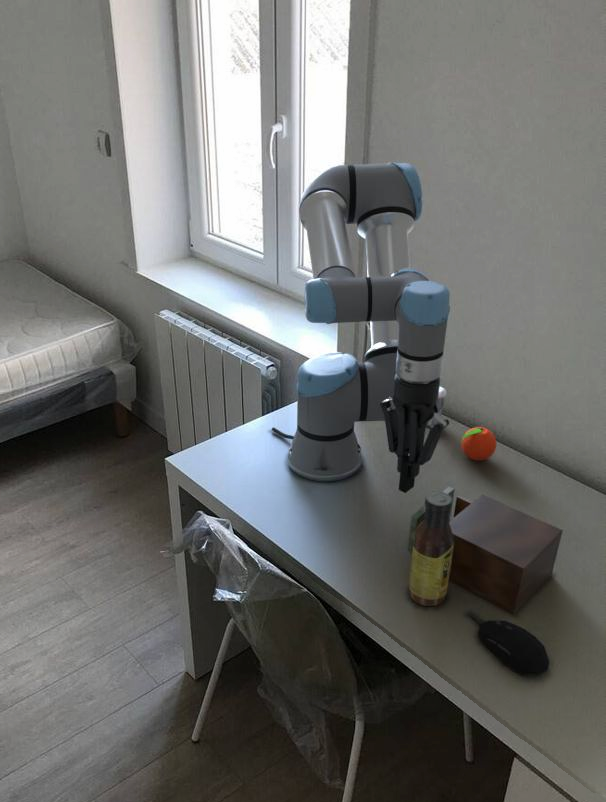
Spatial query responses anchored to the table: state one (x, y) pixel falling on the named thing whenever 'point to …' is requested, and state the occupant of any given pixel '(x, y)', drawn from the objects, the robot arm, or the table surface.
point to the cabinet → (502, 552)
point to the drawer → (419, 515)
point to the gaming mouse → (514, 646)
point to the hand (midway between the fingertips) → (406, 488)
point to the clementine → (478, 443)
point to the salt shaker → (439, 402)
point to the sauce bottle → (432, 552)
